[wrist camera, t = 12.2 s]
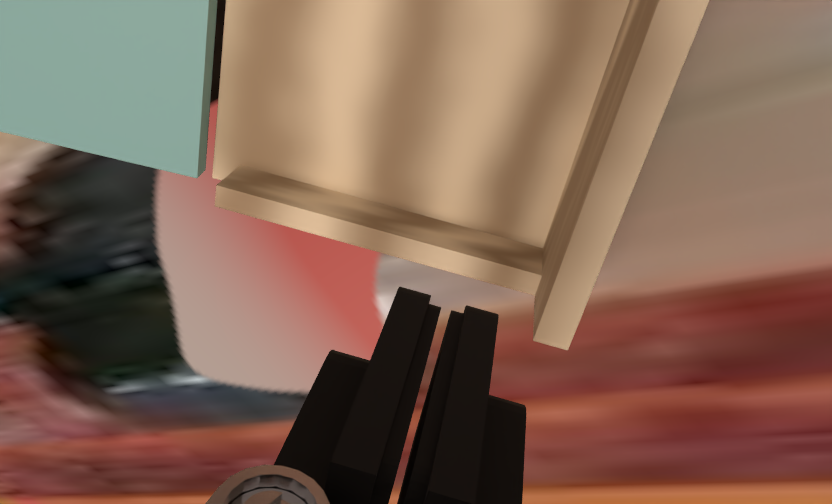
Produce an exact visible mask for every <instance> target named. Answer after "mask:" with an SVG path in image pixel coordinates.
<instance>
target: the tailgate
mask: <svg viewBox="0 0 832 504" xmlns="http://www.w3.org/2000/svg"><path fill="white" fill-rule="evenodd" d="M216 14H217V0H0V132H5V133H9V134H13V135H17V136H21V137H26V138H30V139H34V140H38V141H43V142H47V143H51V144H55V145H59V146H64V147H68V148H72V149H76V150H80V151H85V152H89V153H93V154H97V155H101V156H106V157H110V158H114V159H118V160H122V161H127V162H131V163H135V164H139V165H144V166H148V167H152V168H156V169H160V170H165V171H169V172H173V173H177V174H181V175H186V176H190V177H194V178H198V177H199V176H200V175H201V174H202V173H203V172H204V171H205V168H206V154H207V140H208V126H209V112H210V98H211V84H212V70H213V56H214V42H215V28H216Z"/></svg>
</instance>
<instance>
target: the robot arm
mask: <svg viewBox="0 0 832 504" xmlns="http://www.w3.org/2000/svg"><path fill="white" fill-rule="evenodd" d="M430 297H431V295H428V294H424V293H420V292H417V291H413V290H410V289H406V288H403V287H399V288H398V291H397V293H396V296H395V298H394V301H393V303H392V306H391V309H390V311H389V314H388V316H387V319H386V321H385V324H384V326H383V329H382V332H381V334H380V337H379V339H378V342H377V344H376V347H375V349H374V352H373V355H372V357H371V360H370V361H369V360H366V359H362V358H359V357H355V356H352V355H348V354H345V353H341V352H338V351H335V350H331V351H330V352H329V354H328V356H327V357H326V359H325V361H324V363H323V366H322V367H321V369H320V372H319V374H318V376H317V378H316V380H315V382H314V384H313V386H312V388H311V390H310V392H309V394H308V396H307V398H306V400H305V402H304V404H303V406H302V408H301V410H300V412H299V414H298V416H297V419H296V421H295V423H294V425H293V427H292V429H291V431H290V433H289V435H288V437H287V439H286V441H285V443H284V445H283V447H282V449H281V451H280V453H279V455H278V457H277V459H276V461H275V464H274V465H261V466H256V467H251V468H247V469H244V470H242V471H240V472H238V473H236V474H234V475H232V476H230V477H229V478H228V479H227V480H226V481H225V482H224V483H223V484H222V485H221V486H220V487H218V489H217V490H216V491H215V492H214V494H213V495H212V496H211V497H210V499H209V500H208V501H207V502H206V504H388V502H389V499H390V495H391V492H392V488H393V485H394V481H395V477H396V474H397V470H398V466H399V463H400V459H401V455H402V451H403V448H404V444H405V440H406V437H407V433H408V429H409V425H410V422H411V418H412V414H413V411H414V407H415V403H416V399H417V396H418V392H419V388H420V384H421V381H422V377H423V373H424V370H425V366H426V362H427V358H428V355H429V351H430V347H431V344H432V340H433V336H434V332H435V329H436V325H437V321H438V317H439V314H440V310H441V307H438V306H434V305H431V304H429V301H430ZM497 325H498V314H495V313H491V312H488V311H484V310H481V309H477V308H474V307H470V306H467V305H466V307H465V310H464V313H459V312H456V311H452V310H451V313H450V317H449V320H448V323H447V327H446V330H445V334H444V337H443V341H442V344H441V347H440V351H439V354H438V358H437V361H436V365H435V368H434V371H433V375H432V378H431V382H430V385H429V389H428V392H427V395H426V399H425V402H424V406H423V409H422V413H421V416H420V420H419V423H418V426H417V430H416V433H415V437H414V441H413V444H412V448H411V452H410V456H409V460H408V464H407V468H406V472H405V475H404V479H403V483H402V487H401V491H400V495H399V499H398V503H397V504H522V492H523V471H524V451H525V430H526V407H525V405H522V404H519V403H515V402H512V401H508V400H505V399H501V398H498V397H494V396H491V395H489V388H490V381H491V373H492V365H493V357H494V349H495V341H496V333H497Z"/></svg>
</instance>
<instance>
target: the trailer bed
mask: <svg viewBox="0 0 832 504" xmlns="http://www.w3.org/2000/svg"><path fill="white" fill-rule="evenodd" d="M708 3H709V0H226V7H225V20H224V33H223V46H222V59H221V72H220V85H219V98H218V111H217V124H216V137H215V150H214V163H213V175H212V177H213V178H215V179H219V180H222V181H221V182H220V183H219V184H217V185H216V198H215V206H216V207H219V208H223V209H227V210H230V211H234V212H237V213H241V214H244V215H248V216H252V217H255V218H259V219H263V220H266V221H270V222H274V223H277V224H280V225H284V226H287V227H291V228H295V229H298V230H302V231H305V232H309V233H312V234H316V235H320V236H323V237H327V238H331V239H334V240H338V241H341V242H345V243H348V244H352V245H356V246H359V247H363V248H366V249H370V250H373V251H377V252H381V253H384V254H388V255H391V256H395V257H398V258H402V259H406V260H409V261H413V262H416V263H420V264H424V265H427V266H431V267H434V268H438V269H441V270H445V271H449V272H452V273H456V274H459V275H463V276H467V277H470V278H474V279H477V280H481V281H484V282H488V283H492V284H495V285H499V286H502V287H506V288H510V289H513V290H517V291H520V292H524V293H527V294H531V295H535V305H534V330H533V341H536V342H540V343H543V344H547V345H550V346H554V347H557V348H561V349H564V350H568V348H569V346H570V344H571V341H572V339H573V336H574V334H575V331H576V329H577V326H578V324H579V321H580V319H581V316H582V314H583V311H584V309H585V306H586V304H587V302H588V299H589V297H590V294H591V292H592V289H593V287H594V284H595V282H596V279H597V277H598V274H599V272H600V269H601V267H602V265H603V262H604V260H605V257H606V255H607V252H608V250H609V247H610V245H611V242H612V240H613V237H614V235H615V232H616V230H617V227H618V225H619V223H620V220H621V218H622V215H623V213H624V210H625V208H626V205H627V203H628V200H629V198H630V195H631V193H632V190H633V188H634V185H635V183H636V181H637V178H638V176H639V173H640V171H641V168H642V166H643V163H644V161H645V158H646V156H647V153H648V151H649V148H650V146H651V143H652V141H653V139H654V136H655V134H656V131H657V129H658V126H659V124H660V121H661V119H662V116H663V114H664V111H665V109H666V106H667V104H668V102H669V99H670V97H671V94H672V92H673V89H674V87H675V84H676V82H677V79H678V77H679V74H680V72H681V69H682V67H683V64H684V62H685V60H686V57H687V55H688V52H689V50H690V47H691V45H692V42H693V40H694V37H695V35H696V32H697V30H698V27H699V25H700V22H701V20H702V18H703V15H704V13H705V10H706V8H707V5H708Z"/></svg>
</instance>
